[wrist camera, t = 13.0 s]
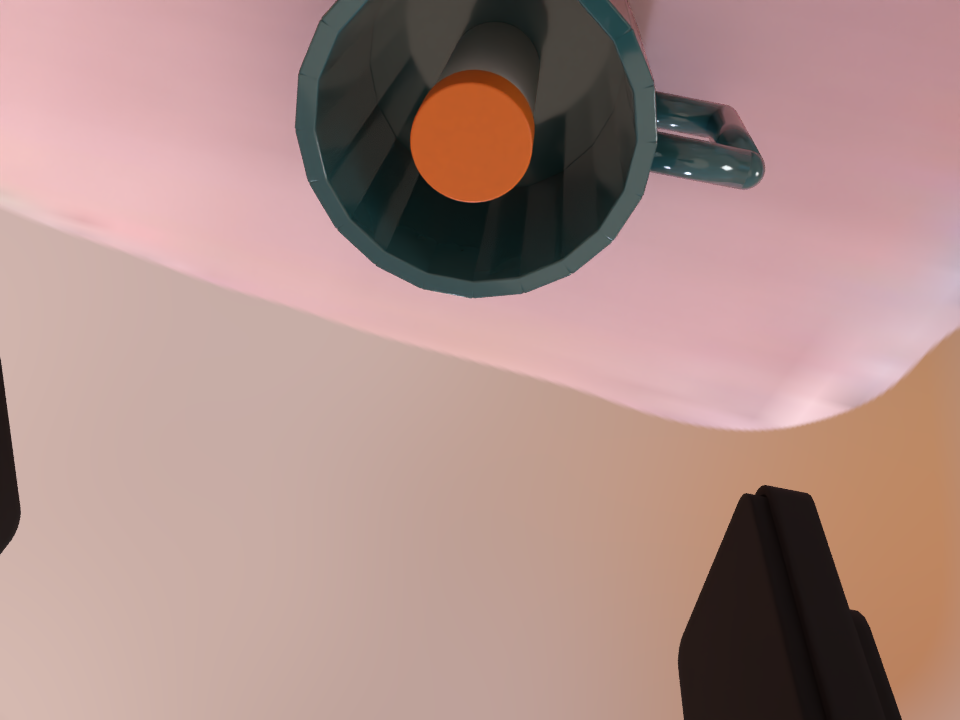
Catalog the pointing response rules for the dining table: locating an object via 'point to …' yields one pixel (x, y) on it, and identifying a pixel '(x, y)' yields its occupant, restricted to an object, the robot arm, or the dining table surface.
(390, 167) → the mug
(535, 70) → the glue stick
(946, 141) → the dining table surface
